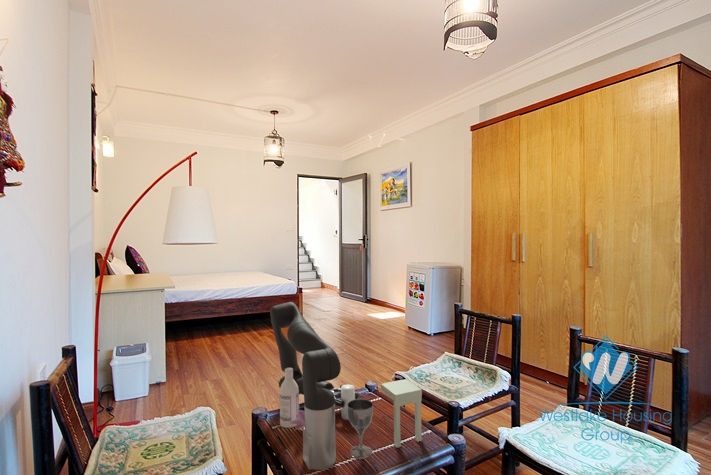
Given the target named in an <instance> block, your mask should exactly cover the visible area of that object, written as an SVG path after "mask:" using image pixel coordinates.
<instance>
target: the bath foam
mask: <svg viewBox="0 0 711 475" xmlns="http://www.w3.org/2000/svg"><path fill="white" fill-rule="evenodd" d="M284 376H285V380H284V381H283V383H282V385H281V387H279V424H280V426H281V427H282V428H286V429H290V428H294V427H295V428H296V425H297V424H289V423H290V422H292V421H294V420H297V419H298V410H300V394H299V389H298V385H297V383H296V382H295V380H294V379H293V368H286V369H285V372H284Z"/></svg>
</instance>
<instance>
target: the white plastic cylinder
mask: <svg viewBox="0 0 711 475" xmlns="http://www.w3.org/2000/svg"><path fill="white" fill-rule="evenodd" d="M342 385H343V384H342ZM355 390H356V386H355V385H353V384H344V385H343V386H341V398H340V400H343V401H344V402H345V407H343V408H342V407H340V409H341V411H340V412H341V416H340V417H341V419H343V420H346V421H349V417H348V403H349V402H350V401H351V400H354V399H355V392H356V391H355Z"/></svg>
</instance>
